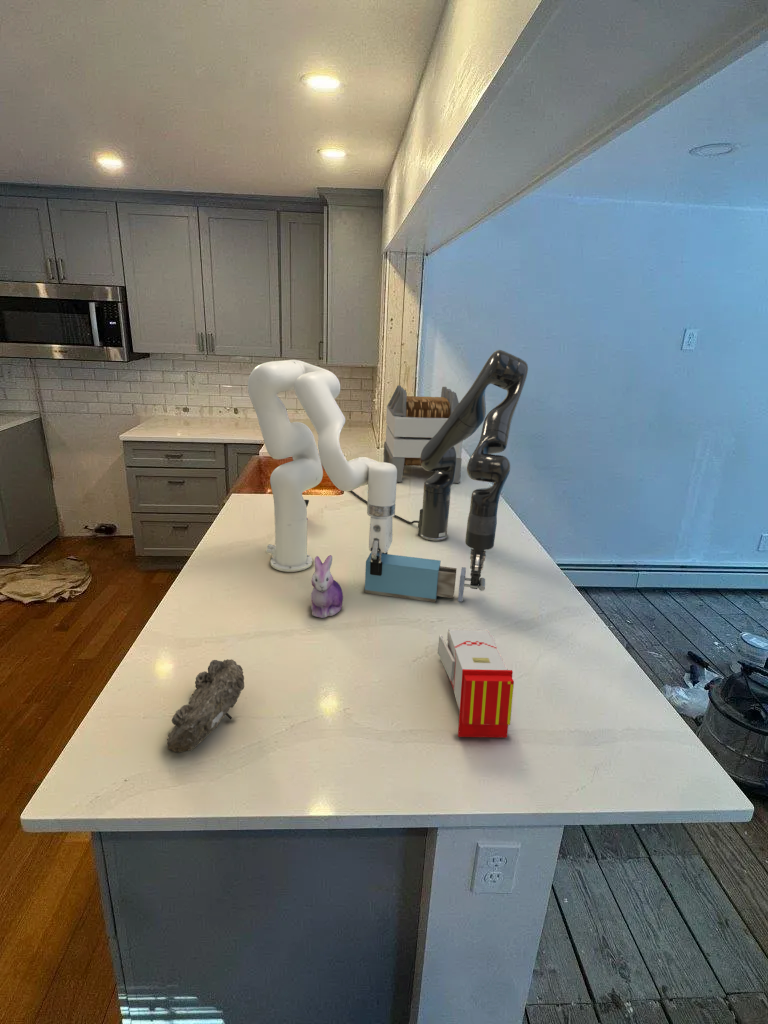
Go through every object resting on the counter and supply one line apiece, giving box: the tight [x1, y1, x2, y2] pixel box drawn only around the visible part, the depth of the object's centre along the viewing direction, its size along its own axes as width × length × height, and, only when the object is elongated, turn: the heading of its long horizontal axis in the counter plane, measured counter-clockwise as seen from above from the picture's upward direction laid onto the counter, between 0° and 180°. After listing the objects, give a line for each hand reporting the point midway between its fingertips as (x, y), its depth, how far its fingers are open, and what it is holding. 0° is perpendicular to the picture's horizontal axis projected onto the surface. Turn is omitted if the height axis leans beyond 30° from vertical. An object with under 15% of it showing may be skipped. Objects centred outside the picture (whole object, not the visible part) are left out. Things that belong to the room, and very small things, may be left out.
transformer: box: [383, 384, 464, 484], centre depth 268 cm, size 34×33×41 cm
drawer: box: [436, 565, 486, 602], centre depth 156 cm, size 24×5×8 cm, turn 79°
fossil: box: [166, 658, 245, 754], centre depth 106 cm, size 22×10×15 cm
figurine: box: [310, 554, 344, 618], centre depth 145 cm, size 9×10×15 cm
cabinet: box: [364, 551, 442, 603], centre depth 157 cm, size 20×6×10 cm, turn 79°
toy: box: [437, 628, 515, 738], centre depth 117 cm, size 12×13×30 cm
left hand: (378, 568), depth 158 cm, fingers closed on cabinet, 6 cm apart
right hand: (474, 587), depth 154 cm, fingers closed
